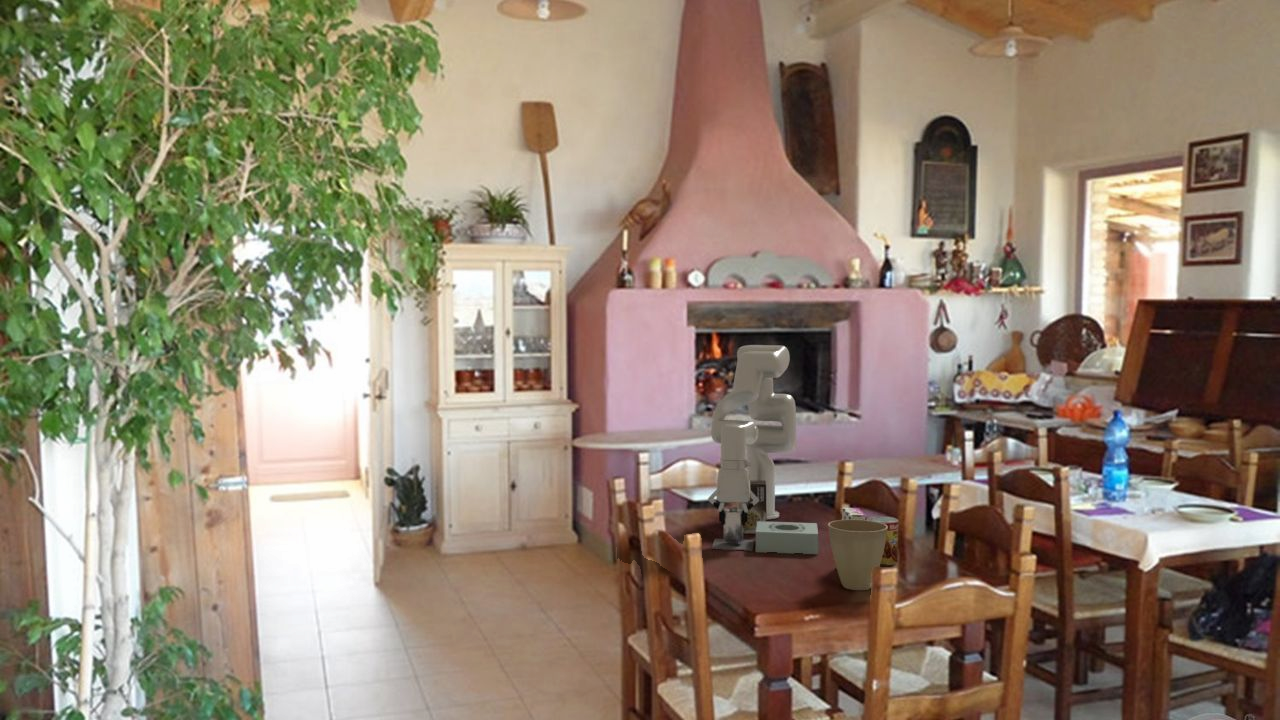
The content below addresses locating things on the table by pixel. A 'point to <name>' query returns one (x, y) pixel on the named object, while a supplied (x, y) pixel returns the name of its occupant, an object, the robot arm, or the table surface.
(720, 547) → the mat
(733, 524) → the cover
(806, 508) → the table surface
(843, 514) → the candy bar box
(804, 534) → the block
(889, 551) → the canned food
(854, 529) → the plant pot
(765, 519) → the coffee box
